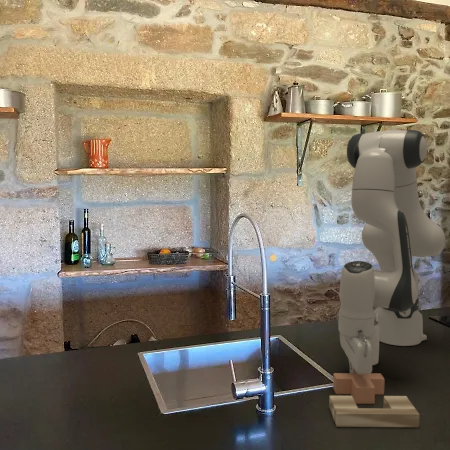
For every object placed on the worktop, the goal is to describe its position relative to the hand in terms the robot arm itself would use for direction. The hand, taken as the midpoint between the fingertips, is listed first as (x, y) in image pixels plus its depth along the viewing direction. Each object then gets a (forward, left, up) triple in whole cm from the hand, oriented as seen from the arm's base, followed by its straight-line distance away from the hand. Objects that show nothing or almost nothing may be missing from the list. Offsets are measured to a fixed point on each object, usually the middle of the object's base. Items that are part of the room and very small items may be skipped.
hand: (354, 376), depth 129 cm
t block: (+6, 0, -2) cm, 7 cm away
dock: (+17, 0, -2) cm, 17 cm away
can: (-15, +7, -2) cm, 17 cm away
